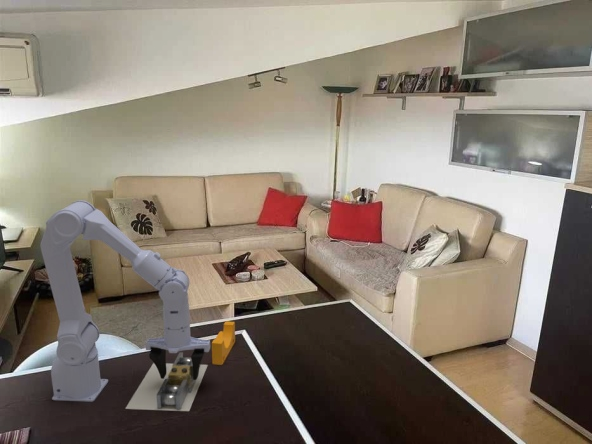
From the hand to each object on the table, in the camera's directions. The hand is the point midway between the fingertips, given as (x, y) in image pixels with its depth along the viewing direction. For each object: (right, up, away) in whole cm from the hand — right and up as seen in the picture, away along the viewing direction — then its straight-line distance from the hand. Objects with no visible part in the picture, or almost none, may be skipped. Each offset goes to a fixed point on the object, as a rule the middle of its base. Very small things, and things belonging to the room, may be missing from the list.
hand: (179, 376), depth 106 cm
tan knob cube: (0, -2, +1) cm, 2 cm away
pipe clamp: (+7, +1, +15) cm, 17 cm away
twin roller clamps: (0, -2, +1) cm, 2 cm away
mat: (-3, -2, +1) cm, 4 cm away
